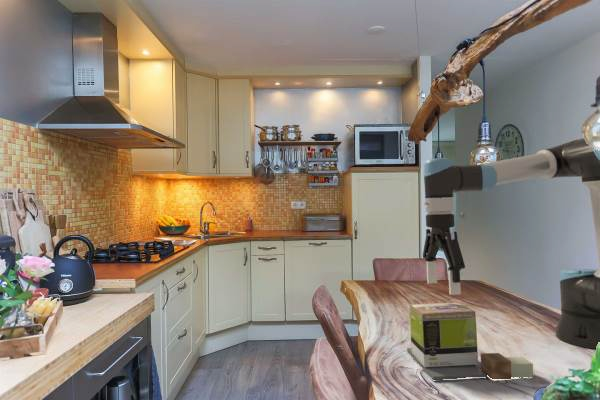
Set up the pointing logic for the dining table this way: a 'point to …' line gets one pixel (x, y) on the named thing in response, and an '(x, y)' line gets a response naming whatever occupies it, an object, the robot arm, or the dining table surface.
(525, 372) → the sage painted block
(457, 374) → the block
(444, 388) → the dining table surface
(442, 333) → the tea box
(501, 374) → the walnut cube
